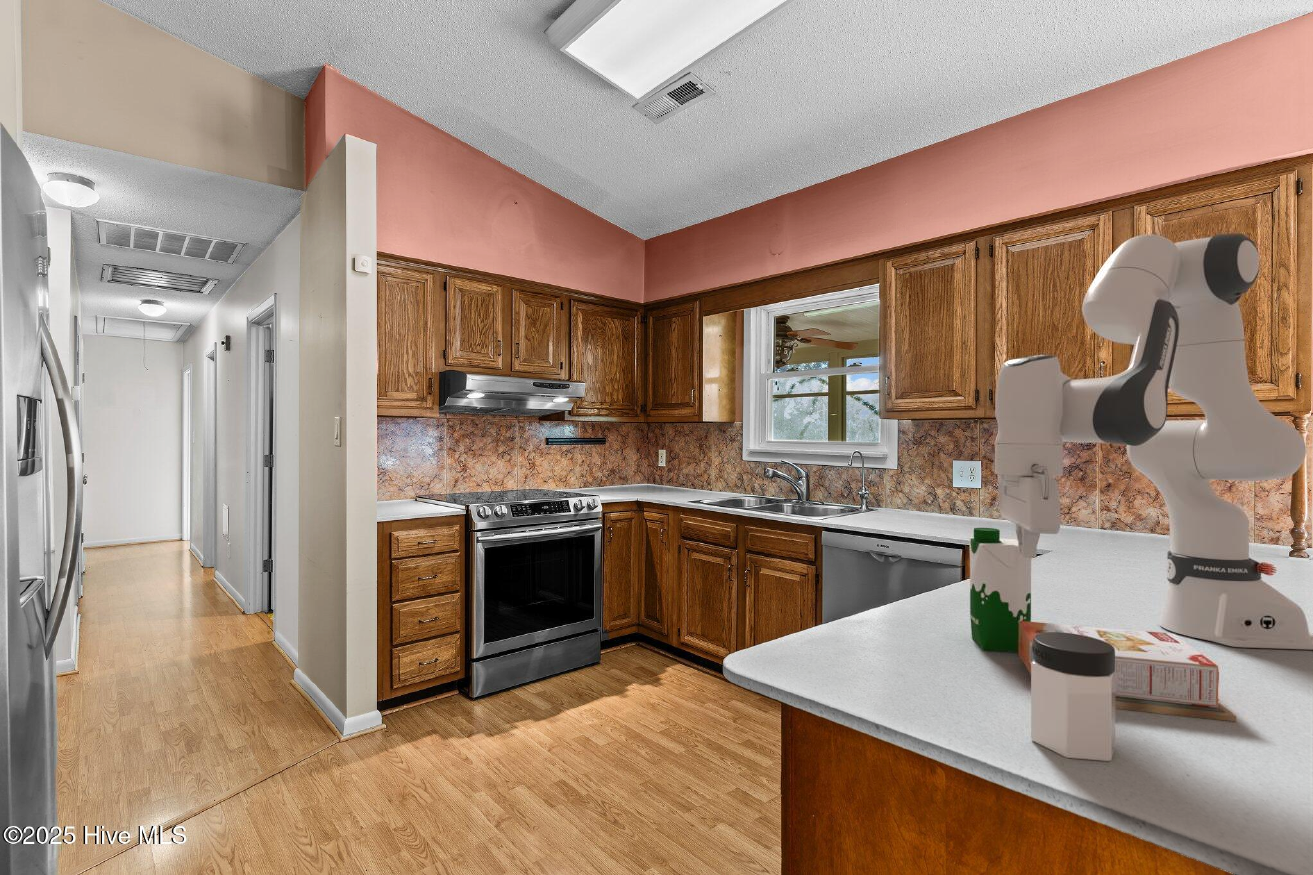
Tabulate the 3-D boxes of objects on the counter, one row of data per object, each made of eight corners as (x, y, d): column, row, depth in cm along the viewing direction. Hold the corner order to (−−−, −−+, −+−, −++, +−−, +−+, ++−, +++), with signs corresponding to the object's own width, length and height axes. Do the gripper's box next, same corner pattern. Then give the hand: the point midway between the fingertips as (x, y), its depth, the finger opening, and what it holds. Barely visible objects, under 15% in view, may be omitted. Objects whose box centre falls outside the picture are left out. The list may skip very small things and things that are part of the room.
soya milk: (964, 636, 117) (965, 525, 117) (1019, 639, 115) (1019, 526, 115) (978, 652, 108) (979, 532, 108) (1038, 655, 106) (1038, 534, 106)
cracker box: (1017, 617, 103) (1175, 632, 97) (1017, 655, 104) (1174, 672, 97) (1037, 645, 90) (1222, 664, 83) (1036, 688, 90) (1221, 711, 83)
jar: (1039, 721, 82) (1039, 626, 82) (1118, 740, 77) (1118, 639, 77) (1025, 747, 75) (1025, 644, 75) (1110, 770, 70) (1110, 659, 70)
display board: (1171, 671, 99) (1171, 666, 99) (1236, 721, 82) (1236, 714, 82) (1024, 658, 105) (1024, 652, 105) (1055, 701, 88) (1055, 695, 88)
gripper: (1074, 466, 86) (1073, 571, 86) (1034, 461, 105) (1033, 546, 105) (1021, 465, 88) (1020, 567, 88) (991, 461, 107) (990, 544, 107)
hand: (1027, 556), depth 97 cm, fingers closed
